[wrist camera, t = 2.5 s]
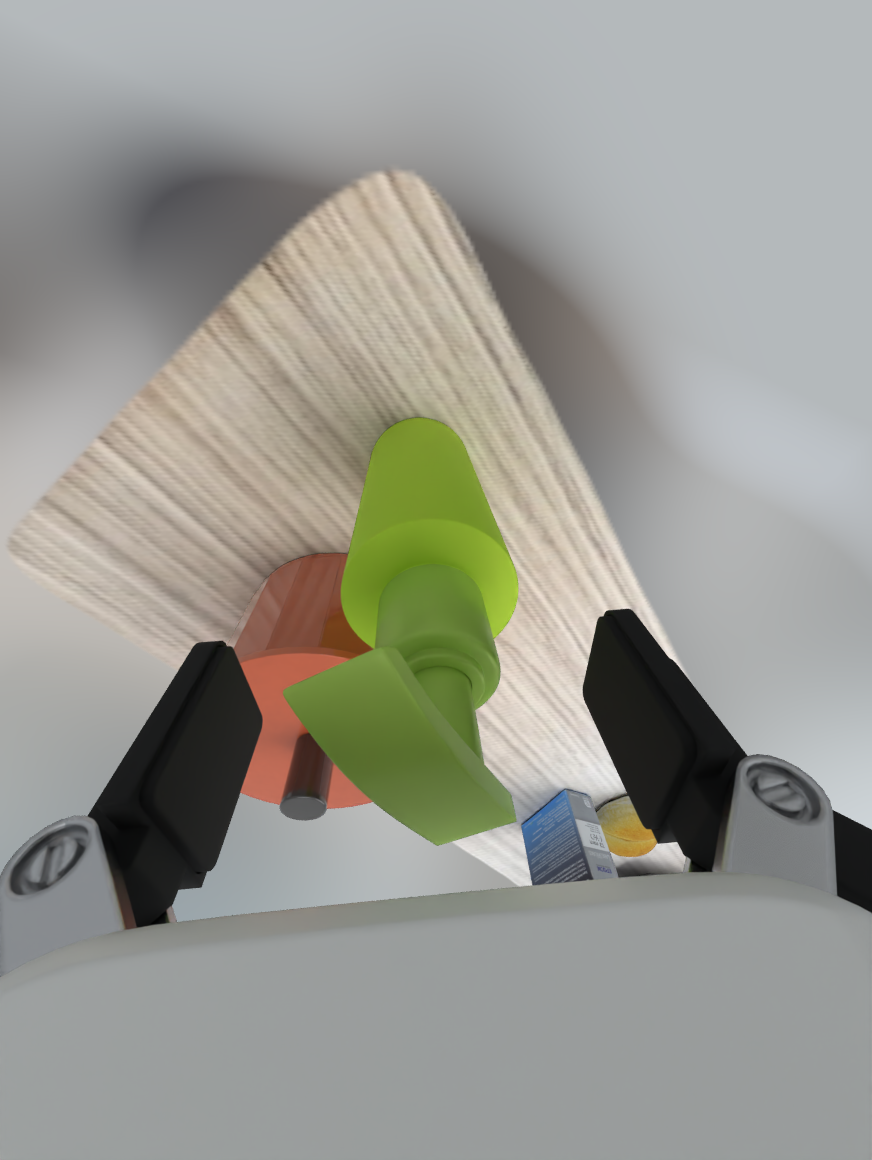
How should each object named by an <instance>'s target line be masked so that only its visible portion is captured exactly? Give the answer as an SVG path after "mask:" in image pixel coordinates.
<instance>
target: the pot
mask: <svg viewBox="0 0 872 1160" xmlns="http://www.w3.org/2000/svg"><path fill="white" fill-rule="evenodd" d="M347 557H348V554H340V553H323V554H315V555H309V556H305V557H301V558H298V559H296V560H293V561H291V562H288V563H287V564H285V565H283V566H281V567H279V568H278V569H277V570H275V571H274V572H273V573H271V574H270V575H269V576H268V577H267V579H266V580H265V581H264V582H263V583H262V585H261V586H260V588H259V589H258V591H257V592H256V593H255V594H254V596H253V597H252V599H251V601H250V603H249V605H248V606H247V608H246V610H245V612H244V614H243V616H242V618H241V620H240V622H239V624H238V625H237V627H236V629H235V631H234V633H233V635H232V637H231V639H230V641H229V643H228V644H227V646H231V647H233V649H234V651H235V653H236V656H237V658H239V657H242V656H245V655H248V654H250V653H254V652H259V651H263V650H267V649H274V648H282V647H298V646H311V647H325V648H332V649H338V650H344V651H349V652H352V653H356V654H360V655H362V654H364V653H366V652H369V651H371V650H373V649H374V648H372V647H371V646H369V645H368V644H366V643H365V642H364V641H363V640H362V639H361V638H360V637H359V636H358V635H357V634H356V633H355V632H354V630H353V629H352V628H351V626H350V624H349V623H348V621H347V619H346V616H345V614H344V611H343V607H342V603H341V583H342V578H343V574H344V570H345V565H346V561H347Z"/></svg>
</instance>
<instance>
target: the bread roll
mask: <svg viewBox="0 0 872 1160" xmlns="http://www.w3.org/2000/svg"><path fill="white" fill-rule="evenodd" d="M596 814H597V817H598V820H599V823H600V826H601V828H602V831H603V834H604V837H605V840H606V843H607V845H608V848H609V851H610V852H612V853H614V854H616V855H619V856H625V857H637V856H641V855H644V854H646V853H648V852H650V851H651V850H652V849H653V848H654V847H655V845H656V844H657V841H656V839H655V837H654V835H653V833H652V830H651V829H646V828H644V826H643V825H642V823H641V821H640V819H639V817H638V815H637V813H636V811H635V809H634V807H633V804H632V802H631V800H630V798H629V796H624V797H621V798H619V799H616V800H614V801H611V802H608V803H607V804H605V805H604V806H603V807H601V808H600V809H599V810H598V812H597V813H596Z"/></svg>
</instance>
